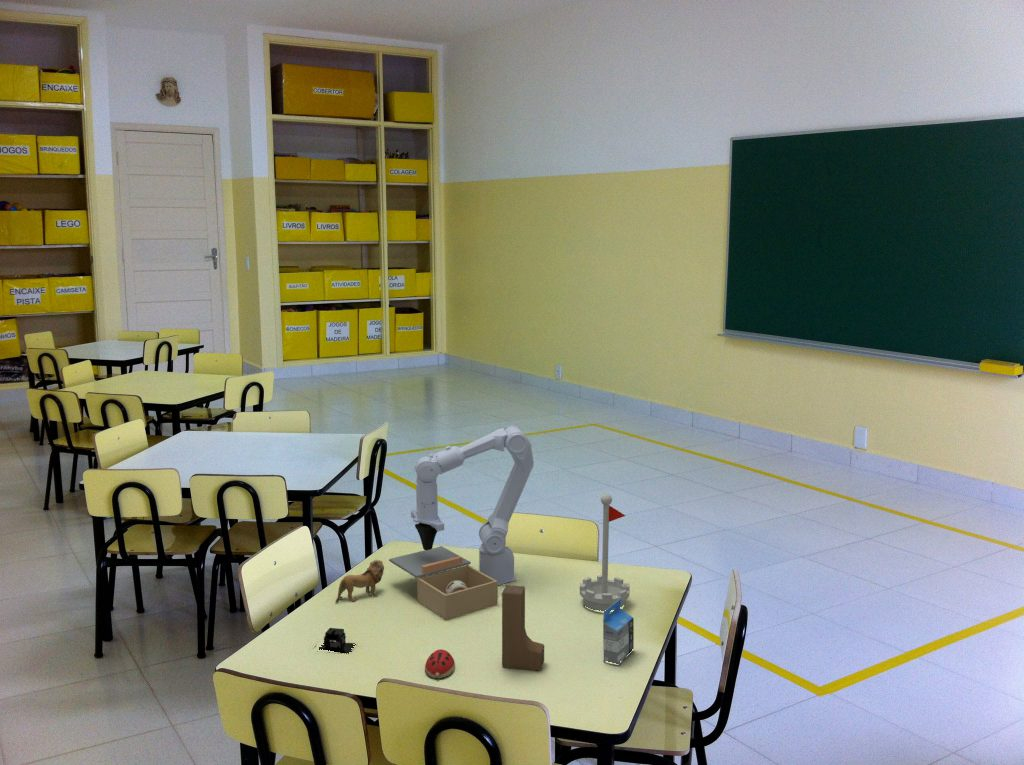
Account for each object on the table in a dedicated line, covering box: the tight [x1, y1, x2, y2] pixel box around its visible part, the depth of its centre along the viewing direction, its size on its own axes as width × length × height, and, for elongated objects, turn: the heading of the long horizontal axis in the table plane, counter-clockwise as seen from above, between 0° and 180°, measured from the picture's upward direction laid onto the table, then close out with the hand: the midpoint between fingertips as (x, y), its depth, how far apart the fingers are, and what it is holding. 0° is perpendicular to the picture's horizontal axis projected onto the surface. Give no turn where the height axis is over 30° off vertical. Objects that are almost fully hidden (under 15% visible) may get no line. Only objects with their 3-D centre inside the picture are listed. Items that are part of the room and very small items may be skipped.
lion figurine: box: [334, 559, 385, 603], centre depth 238 cm, size 15×5×9 cm, turn 130°
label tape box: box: [602, 599, 635, 665], centre depth 204 cm, size 9×4×12 cm, turn 148°
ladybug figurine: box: [424, 648, 456, 679], centre depth 199 cm, size 7×10×4 cm
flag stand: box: [579, 493, 631, 611], centre depth 232 cm, size 13×13×30 cm
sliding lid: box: [388, 545, 472, 579], centre depth 244 cm, size 17×15×2 cm
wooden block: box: [501, 584, 545, 671], centre depth 200 cm, size 9×4×18 cm, turn 78°
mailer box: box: [416, 564, 499, 621], centre depth 234 cm, size 16×14×6 cm
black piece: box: [319, 627, 357, 655], centre depth 210 cm, size 12×7×5 cm, turn 80°
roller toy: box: [446, 580, 468, 594], centre depth 234 cm, size 4×6×6 cm
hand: (427, 549), depth 245 cm, fingers closed
